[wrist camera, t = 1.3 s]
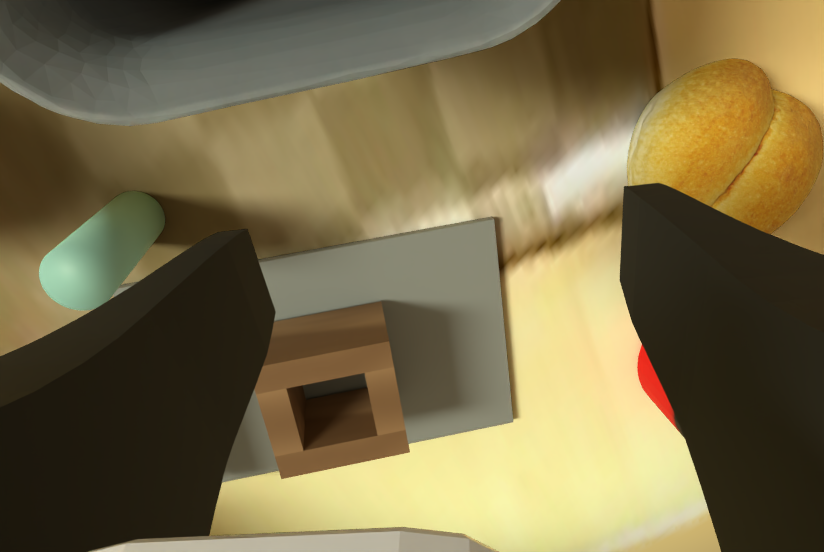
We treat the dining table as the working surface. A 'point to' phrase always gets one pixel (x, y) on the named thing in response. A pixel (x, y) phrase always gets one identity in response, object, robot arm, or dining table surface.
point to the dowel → (102, 251)
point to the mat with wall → (402, 328)
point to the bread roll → (729, 143)
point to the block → (339, 413)
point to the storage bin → (229, 48)
